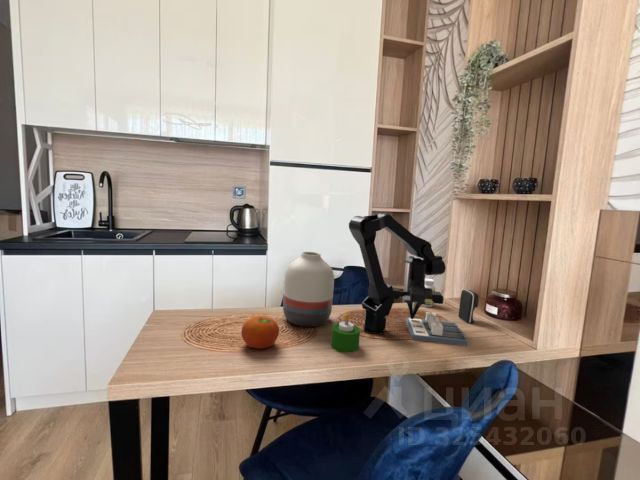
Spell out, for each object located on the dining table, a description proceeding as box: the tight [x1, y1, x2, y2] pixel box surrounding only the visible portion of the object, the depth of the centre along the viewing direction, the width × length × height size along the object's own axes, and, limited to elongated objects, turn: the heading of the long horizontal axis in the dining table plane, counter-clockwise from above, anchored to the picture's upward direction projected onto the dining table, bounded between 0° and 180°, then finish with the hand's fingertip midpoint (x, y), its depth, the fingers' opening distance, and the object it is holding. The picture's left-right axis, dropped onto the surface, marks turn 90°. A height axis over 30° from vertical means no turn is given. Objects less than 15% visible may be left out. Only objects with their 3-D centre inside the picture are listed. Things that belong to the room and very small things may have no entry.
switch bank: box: [405, 317, 468, 346], centre depth 120 cm, size 17×16×2 cm
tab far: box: [424, 311, 438, 323], centre depth 124 cm, size 3×3×3 cm
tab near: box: [431, 322, 443, 336], centre depth 115 cm, size 3×3×3 cm
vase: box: [282, 251, 335, 328], centre depth 121 cm, size 17×17×24 cm
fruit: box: [241, 315, 280, 349], centre depth 101 cm, size 11×10×8 cm
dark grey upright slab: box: [458, 289, 480, 324], centre depth 134 cm, size 7×4×11 cm, turn 10°
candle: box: [330, 313, 361, 354], centre depth 104 cm, size 8×8×10 cm
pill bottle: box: [420, 277, 436, 308], centre depth 149 cm, size 6×6×11 cm
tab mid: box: [428, 317, 441, 329], centre depth 119 cm, size 3×3×3 cm
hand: (411, 318), depth 125 cm, fingers closed
